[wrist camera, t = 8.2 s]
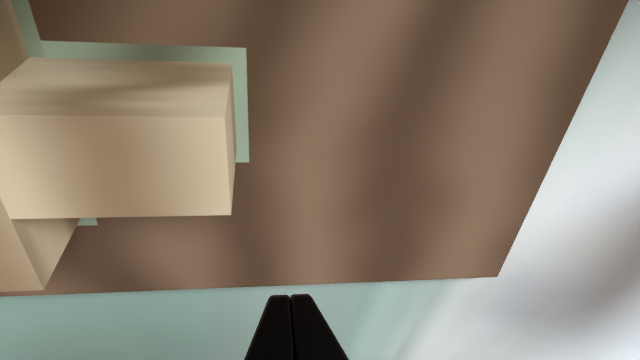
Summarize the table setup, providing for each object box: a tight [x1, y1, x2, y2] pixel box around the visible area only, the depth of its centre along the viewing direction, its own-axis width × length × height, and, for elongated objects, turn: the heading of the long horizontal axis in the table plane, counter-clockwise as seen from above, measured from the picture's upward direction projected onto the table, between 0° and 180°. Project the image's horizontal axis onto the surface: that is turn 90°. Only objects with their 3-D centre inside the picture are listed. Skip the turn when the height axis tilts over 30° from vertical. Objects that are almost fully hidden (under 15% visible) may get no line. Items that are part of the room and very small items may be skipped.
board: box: [0, 0, 628, 297], centre depth 16 cm, size 26×20×1 cm
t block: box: [0, 0, 237, 292], centre depth 13 cm, size 10×10×4 cm
